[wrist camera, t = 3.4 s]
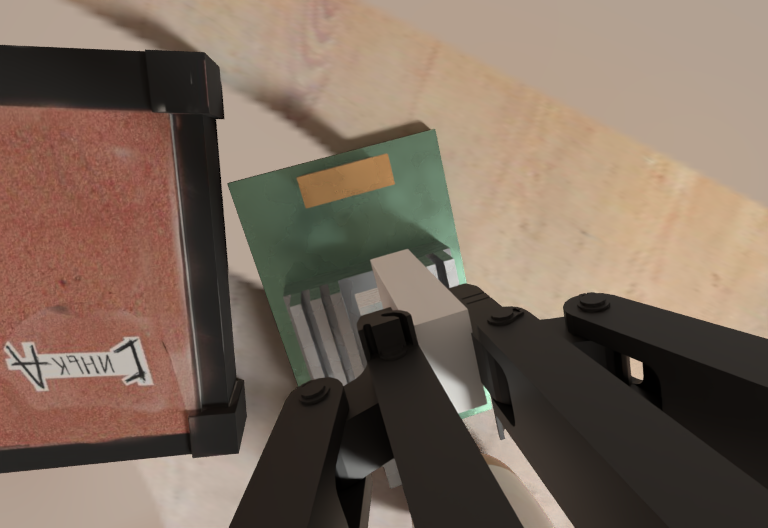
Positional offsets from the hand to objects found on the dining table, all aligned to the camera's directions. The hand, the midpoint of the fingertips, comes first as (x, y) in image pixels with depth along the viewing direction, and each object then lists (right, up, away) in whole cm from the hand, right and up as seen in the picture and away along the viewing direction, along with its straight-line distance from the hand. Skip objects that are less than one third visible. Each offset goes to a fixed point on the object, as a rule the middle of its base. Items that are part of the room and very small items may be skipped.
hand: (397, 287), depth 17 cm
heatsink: (-1, -2, +18) cm, 18 cm away
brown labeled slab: (-20, +1, +14) cm, 25 cm away
